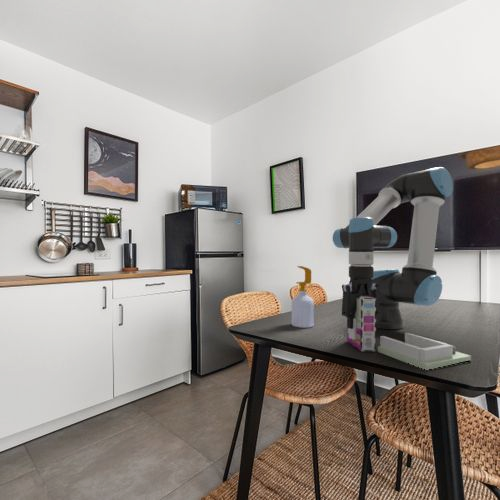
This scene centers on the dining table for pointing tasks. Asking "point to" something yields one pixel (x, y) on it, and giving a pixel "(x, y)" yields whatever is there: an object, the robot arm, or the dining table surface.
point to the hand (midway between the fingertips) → (360, 337)
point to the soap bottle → (303, 304)
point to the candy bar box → (365, 325)
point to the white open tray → (421, 351)
